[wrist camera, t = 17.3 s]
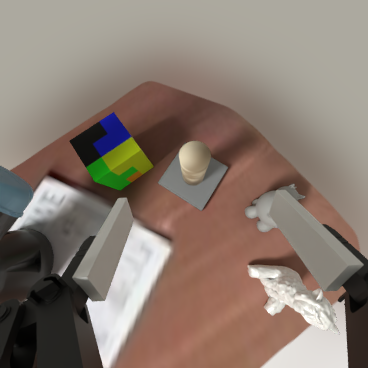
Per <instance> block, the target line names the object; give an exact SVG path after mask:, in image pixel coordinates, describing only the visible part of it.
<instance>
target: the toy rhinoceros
mask: <svg viewBox="0 0 368 368" xmlns="http://www.w3.org/2000/svg"><path fill="white" fill-rule="evenodd" d="M294 186H295V184H291V185H289V186H284V187H280V188H279V189H277V190H286V191H287V192H288V193H289V194H290V195H291V196H292V197H293V198H295V199H296V200H297V201H298V200H299V199H303V198H305V196H303V195H300V194H298V192H297V191H296V190H295V188H297V187H294ZM275 193H276V191H269V192H266V193H264V194H263V195H261V196H260V198H259V199H255V200H254V201H253V202H252V206H249V207H247V208H246V209H245V214H246V216H247V217H248V218H256V217H259V218H260V220H259V221H258V222H257V228H258V229H259V230H260V231H261V232H267V231H269V230H271V229H272V228H273V227H274V228H278V226H277V225H276V223H275V222H274V221H273V219H272V218H271V216H270V215H269V211H270V208H271V205H272V202H273V199H274V196H275Z"/></svg>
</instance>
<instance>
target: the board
mask: <svg viewBox="0 0 368 368" xmlns="http://www.w3.org/2000/svg"><path fill="white" fill-rule="evenodd" d="M185 144H186V143H185ZM185 144H184V145H185ZM184 145H183V146H184ZM179 152H180V151H179ZM227 168H228V167H227V166H225V165H224V164H222V163H220V162H218V161H217V160H215V159H213V158H211V159H210V162H209V165H208V168H207V170H206V173H205V176H204V178H203V181H202V182H201V183H200V184H198V185H195V186H191V185H188V184H187V183H186V182H185V181H184V179H183V176H182V170H181V165H180V160H179V153H178V154H177V155H176V157H175V158H174V160H173V161H172V163H171V164H170V166H169V167H168V169H167V170H166V172H165V173H164V174H163V176H162V177H161V179H160V180H159V182H158V183H159V184H160V185H161V186H163V187H165V188H166V189H168V190H169V191H171V192H172V193H174V194H176V195H177V196H179V197H180V198H182V199H183V200H185V201H186V202H188V203H190V204H191V205H193V206H194V207H196V208H197V209H199V210H201V211H202V209H203V208H204V206H205V204H206V203H207V201H208V200H209V198H210V196H211V195H212V193H213V191H214V190H215V188H216V186H217V185H218V183H219V182H220V180H221V178H222V177H223V175H224V173H225V172H226V170H227Z"/></svg>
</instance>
